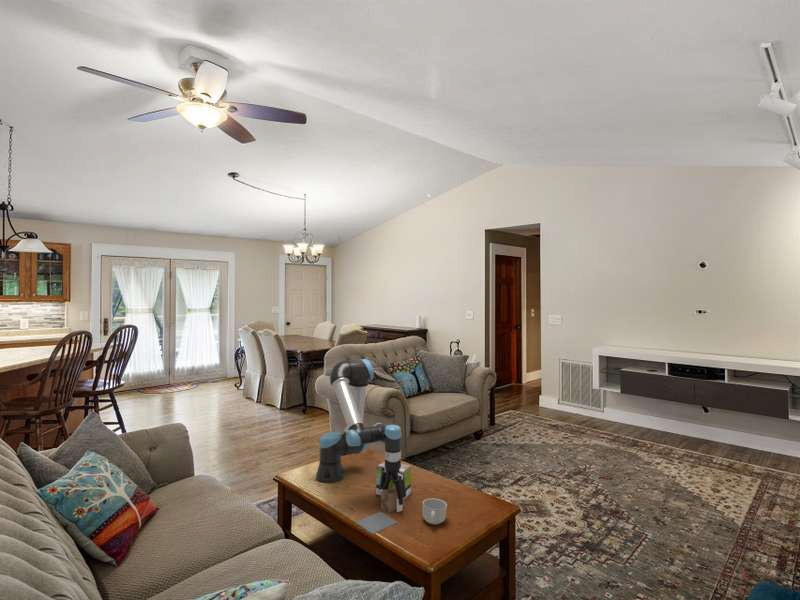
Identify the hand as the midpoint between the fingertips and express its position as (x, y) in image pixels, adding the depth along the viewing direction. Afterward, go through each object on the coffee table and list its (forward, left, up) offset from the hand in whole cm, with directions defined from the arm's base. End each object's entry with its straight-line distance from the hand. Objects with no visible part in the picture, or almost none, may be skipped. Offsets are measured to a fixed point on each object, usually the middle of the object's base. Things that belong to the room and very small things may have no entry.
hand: (392, 507), depth 204 cm
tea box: (-10, +9, -1) cm, 14 cm away
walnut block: (0, 0, 0) cm, 0 cm away
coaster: (+6, -14, 0) cm, 15 cm away
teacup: (+22, +5, 0) cm, 22 cm away
